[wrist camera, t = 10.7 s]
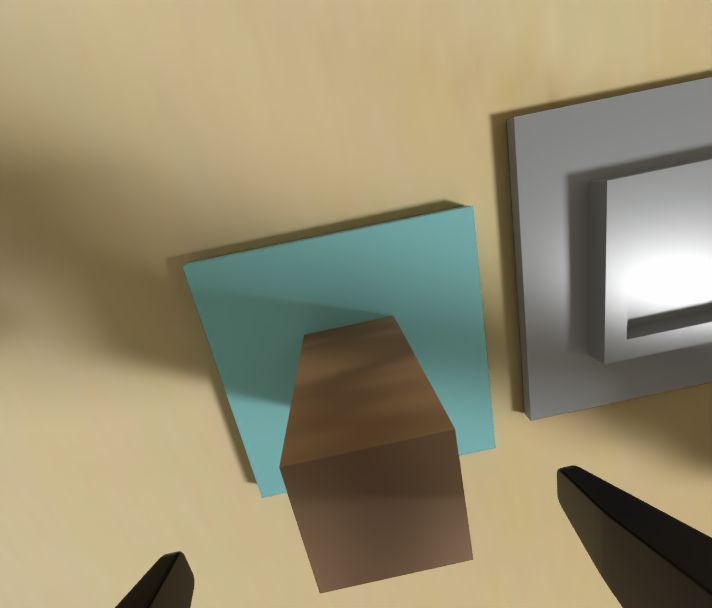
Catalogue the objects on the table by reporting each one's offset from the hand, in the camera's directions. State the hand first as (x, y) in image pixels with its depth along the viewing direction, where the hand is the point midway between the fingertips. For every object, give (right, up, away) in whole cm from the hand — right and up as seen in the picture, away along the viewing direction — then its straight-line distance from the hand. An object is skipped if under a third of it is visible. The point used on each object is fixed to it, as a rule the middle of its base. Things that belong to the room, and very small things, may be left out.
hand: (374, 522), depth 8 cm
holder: (+14, +7, +8) cm, 18 cm away
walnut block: (0, +2, +8) cm, 8 cm away
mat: (0, +3, +9) cm, 9 cm away
